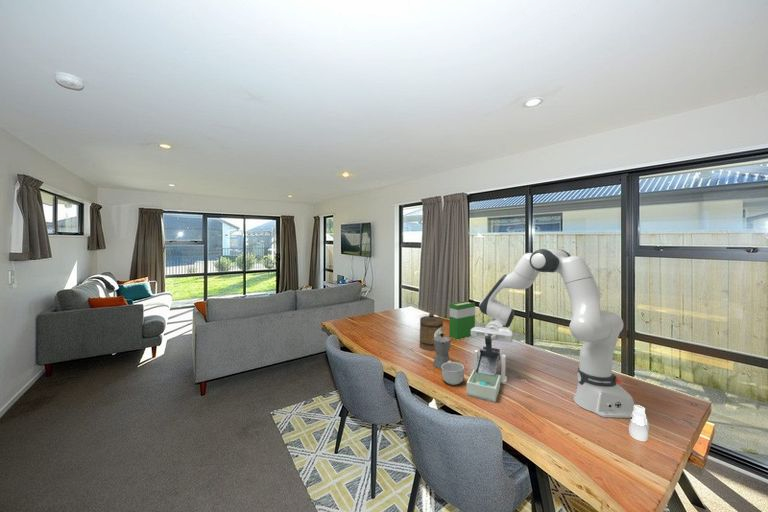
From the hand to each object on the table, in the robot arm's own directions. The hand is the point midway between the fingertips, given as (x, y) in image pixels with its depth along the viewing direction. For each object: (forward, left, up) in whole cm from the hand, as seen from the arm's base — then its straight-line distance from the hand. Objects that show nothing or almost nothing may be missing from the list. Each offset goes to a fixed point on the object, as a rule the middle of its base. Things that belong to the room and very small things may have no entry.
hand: (488, 339), depth 143 cm
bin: (+3, +11, -21) cm, 24 cm away
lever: (-1, -2, -15) cm, 15 cm away
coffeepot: (+23, -13, -21) cm, 34 cm away
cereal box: (+11, -65, -21) cm, 69 cm away
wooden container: (+31, -40, -21) cm, 55 cm away
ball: (+3, +13, -18) cm, 22 cm away
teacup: (+17, +4, -21) cm, 27 cm away
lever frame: (-1, -3, -21) cm, 21 cm away
